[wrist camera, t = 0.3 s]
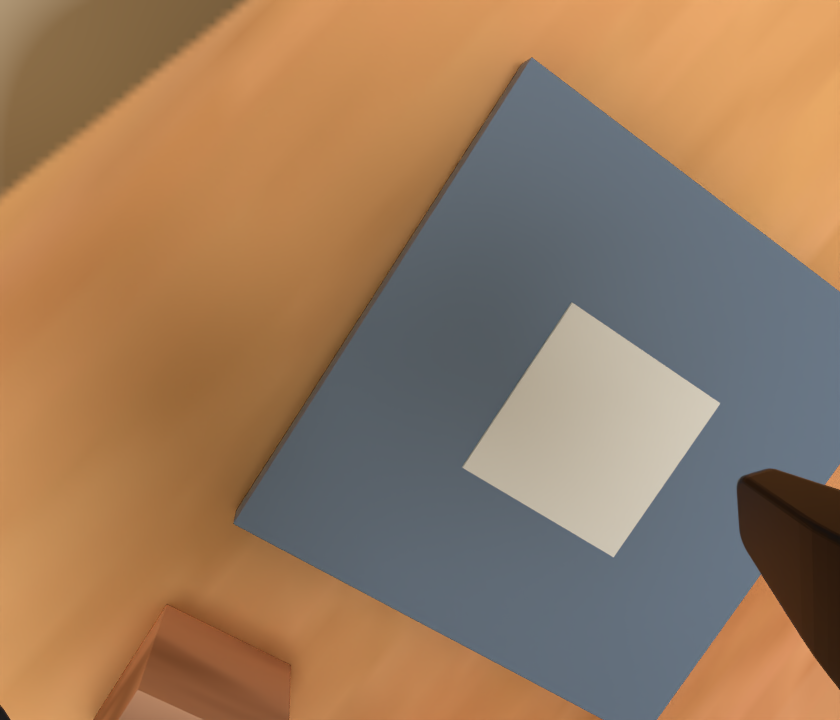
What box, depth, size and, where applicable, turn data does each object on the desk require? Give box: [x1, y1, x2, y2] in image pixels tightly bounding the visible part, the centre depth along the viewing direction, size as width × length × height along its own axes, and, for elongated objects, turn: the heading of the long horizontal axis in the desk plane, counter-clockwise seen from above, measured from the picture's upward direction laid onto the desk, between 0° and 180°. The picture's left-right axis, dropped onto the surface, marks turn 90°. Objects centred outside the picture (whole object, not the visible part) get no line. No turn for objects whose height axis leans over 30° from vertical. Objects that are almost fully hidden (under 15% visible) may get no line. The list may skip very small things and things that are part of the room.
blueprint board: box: [233, 58, 840, 720], centre depth 25 cm, size 16×16×1 cm
